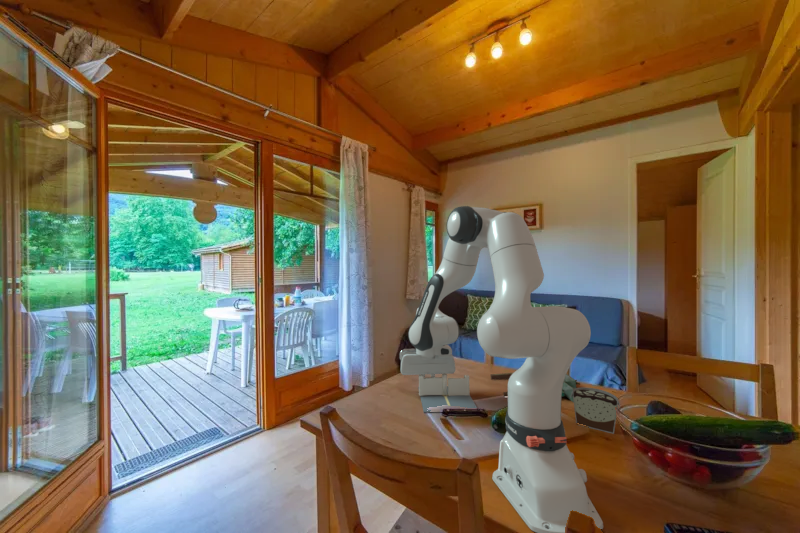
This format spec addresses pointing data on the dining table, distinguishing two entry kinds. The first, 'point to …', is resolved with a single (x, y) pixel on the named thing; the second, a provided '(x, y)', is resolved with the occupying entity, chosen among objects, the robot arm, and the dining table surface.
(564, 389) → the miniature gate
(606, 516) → the dining table surface
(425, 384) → the fence panel
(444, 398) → the card
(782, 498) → the dining table surface
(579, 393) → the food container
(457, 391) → the fence fixed section
